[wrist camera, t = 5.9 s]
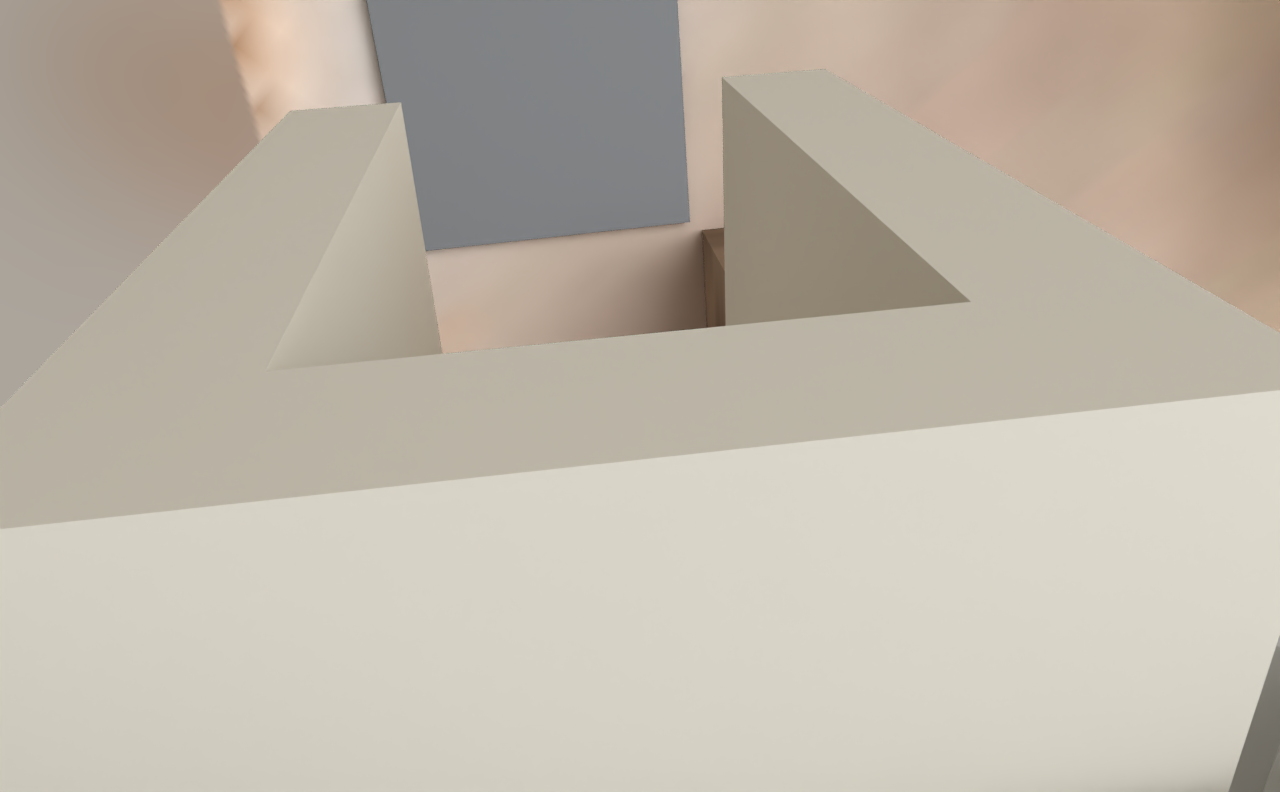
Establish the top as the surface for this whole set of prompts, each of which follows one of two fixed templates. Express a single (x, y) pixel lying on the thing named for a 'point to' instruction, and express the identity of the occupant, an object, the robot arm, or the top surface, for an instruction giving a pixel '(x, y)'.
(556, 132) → the mat
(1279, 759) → the robot arm
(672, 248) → the top surface
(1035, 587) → the cream square bin
